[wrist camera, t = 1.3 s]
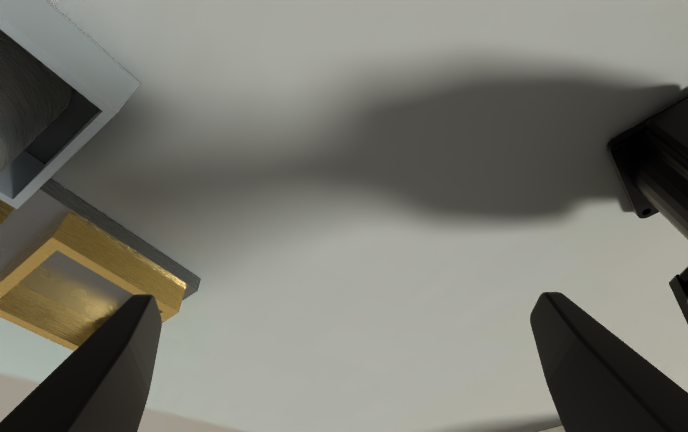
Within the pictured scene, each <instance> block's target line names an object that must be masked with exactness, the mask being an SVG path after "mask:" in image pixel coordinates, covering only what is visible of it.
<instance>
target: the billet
mask: <svg viewBox="0 0 688 432" xmlns="http://www.w3.org/2000/svg"><path fill="white" fill-rule="evenodd" d="M72 91H73V87H72V86H71V85H69V84H68V83H67V82H66V81H64V80H63V79H62V78H61V77H59V76H58V75H57V74H56V73H54V72H53V71H52V70H51V69H49V68H48V67H47V66H46V65H44V64H43V63H42V62H41V61H39V60H38V59H37V58H36V57H34V56H33V55H32V54H31V53H29V52H28V51H27V50H26V49H24V48H23V47H22V46H21V45H19V44H18V43H17V42H16V41H14V40H13V39H12V38H11V37H9V36H8V35H7V34H6V33H5V32H3V31H2V30H1V29H0V173H1V172H2V171H3V170H4V169H5V168H6V167H7V166H8V165H9V164H10V163H11V162H12V161H13V160H14V159H15V158H16V157H17V156H18V155H19V154H20V153H21V152H22V151H23V150H24V149H25V148H26V147H27V146H28V145H29V144H30V143H32V142H33V141H34V140H35V139H36V138H37V137H38V136H39V135H40V134H41V133H42V132H43V131H44V130H45V129H46V128H47V127H48V126H49V125H50V124H51V123H52V122H53V121H54V120H55V119H56V118H57V117H58V116H59V115H60V114H61V113H62V112H63V111H64V110H65V109H66V108H67V107H68V105H69V103H70V101H71V98H72Z"/></svg>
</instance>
